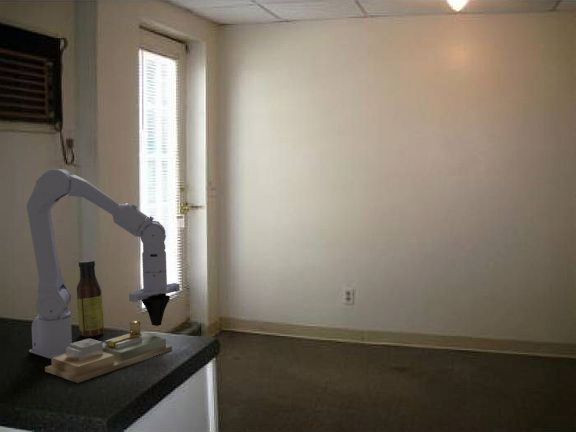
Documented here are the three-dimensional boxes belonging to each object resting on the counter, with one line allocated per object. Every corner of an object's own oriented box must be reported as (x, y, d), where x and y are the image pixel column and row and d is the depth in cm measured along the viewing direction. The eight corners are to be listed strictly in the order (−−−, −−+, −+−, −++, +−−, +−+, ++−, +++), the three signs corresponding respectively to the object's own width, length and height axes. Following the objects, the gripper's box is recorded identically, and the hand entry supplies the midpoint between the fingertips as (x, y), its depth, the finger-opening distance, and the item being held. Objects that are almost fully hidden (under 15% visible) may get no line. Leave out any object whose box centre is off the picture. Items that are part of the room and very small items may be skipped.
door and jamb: (45, 371, 128) (44, 358, 127) (139, 341, 148) (139, 330, 148) (77, 383, 121) (76, 368, 120) (172, 350, 141) (171, 338, 141)
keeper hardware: (66, 357, 128) (65, 344, 127) (129, 338, 141) (128, 327, 141) (79, 361, 125) (78, 348, 125) (142, 341, 138) (141, 330, 138)
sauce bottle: (109, 332, 157) (106, 259, 156) (94, 338, 151) (91, 263, 150) (88, 330, 160) (85, 258, 158) (73, 336, 154) (70, 262, 152)
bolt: (108, 345, 135) (107, 327, 135) (136, 336, 141) (135, 319, 141) (114, 347, 133) (113, 329, 133) (142, 338, 140) (142, 321, 140)
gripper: (142, 277, 135) (144, 334, 137) (187, 268, 147) (189, 320, 148) (122, 274, 140) (124, 329, 141) (168, 265, 151) (170, 316, 152)
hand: (156, 324), depth 145 cm, fingers closed
